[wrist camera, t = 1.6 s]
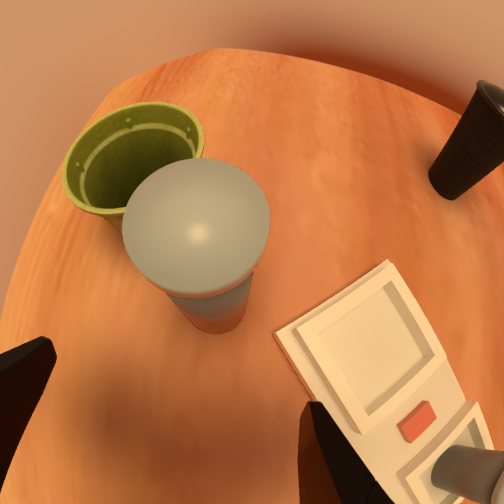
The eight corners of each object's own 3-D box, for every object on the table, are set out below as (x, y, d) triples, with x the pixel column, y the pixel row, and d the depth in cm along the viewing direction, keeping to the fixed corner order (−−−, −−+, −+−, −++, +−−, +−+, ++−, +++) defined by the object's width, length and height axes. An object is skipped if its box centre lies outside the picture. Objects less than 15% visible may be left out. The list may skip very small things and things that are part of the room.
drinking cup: (439, 215, 26) (556, 88, 7) (408, 159, 28) (492, 25, 10) (474, 206, 27) (572, 105, 9) (445, 157, 30) (522, 49, 11)
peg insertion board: (402, 533, 13) (464, 573, 3) (272, 334, 20) (310, 304, 11) (479, 458, 15) (551, 466, 6) (379, 264, 23) (454, 201, 13)
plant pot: (117, 176, 25) (86, 110, 17) (213, 171, 25) (208, 96, 17) (98, 268, 21) (43, 218, 13) (210, 268, 22) (198, 210, 14)
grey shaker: (202, 348, 20) (155, 319, 8) (172, 291, 21) (106, 194, 9) (259, 316, 21) (299, 243, 9) (228, 262, 22) (226, 141, 10)
